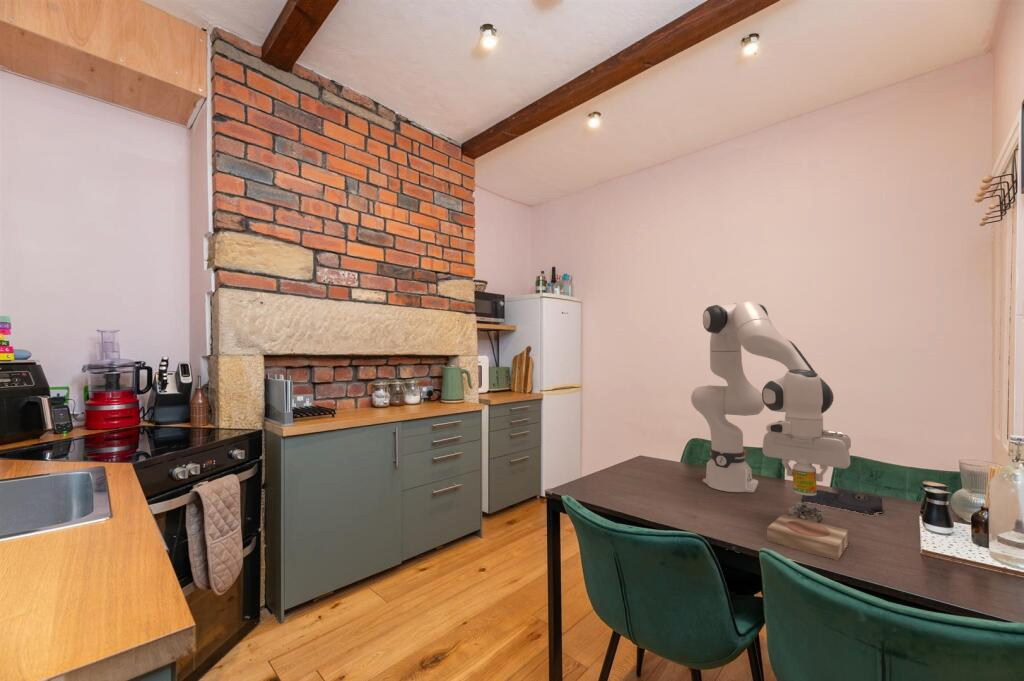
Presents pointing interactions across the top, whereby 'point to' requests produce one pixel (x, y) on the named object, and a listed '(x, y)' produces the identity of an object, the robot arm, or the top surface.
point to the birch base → (808, 536)
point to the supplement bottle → (804, 478)
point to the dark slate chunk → (846, 501)
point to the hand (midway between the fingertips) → (804, 478)
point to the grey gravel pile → (806, 512)
